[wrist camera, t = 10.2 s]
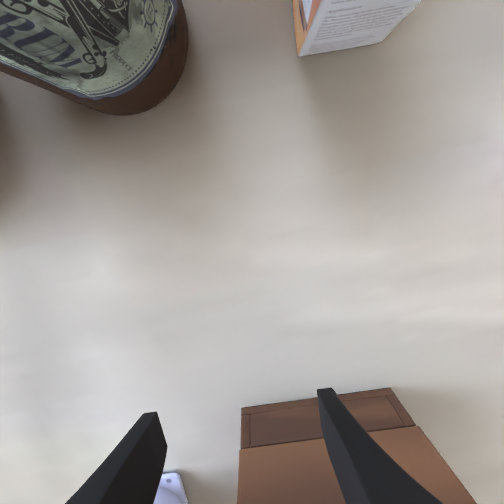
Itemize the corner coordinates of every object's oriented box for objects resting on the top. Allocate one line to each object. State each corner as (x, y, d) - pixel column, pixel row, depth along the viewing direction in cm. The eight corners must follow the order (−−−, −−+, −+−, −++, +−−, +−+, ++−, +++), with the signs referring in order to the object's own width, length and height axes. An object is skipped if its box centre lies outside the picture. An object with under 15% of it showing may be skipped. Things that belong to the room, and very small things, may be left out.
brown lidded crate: (392, 474, 27) (415, 521, 23) (258, 491, 27) (259, 540, 23) (390, 387, 24) (416, 424, 20) (241, 407, 24) (240, 447, 21)
